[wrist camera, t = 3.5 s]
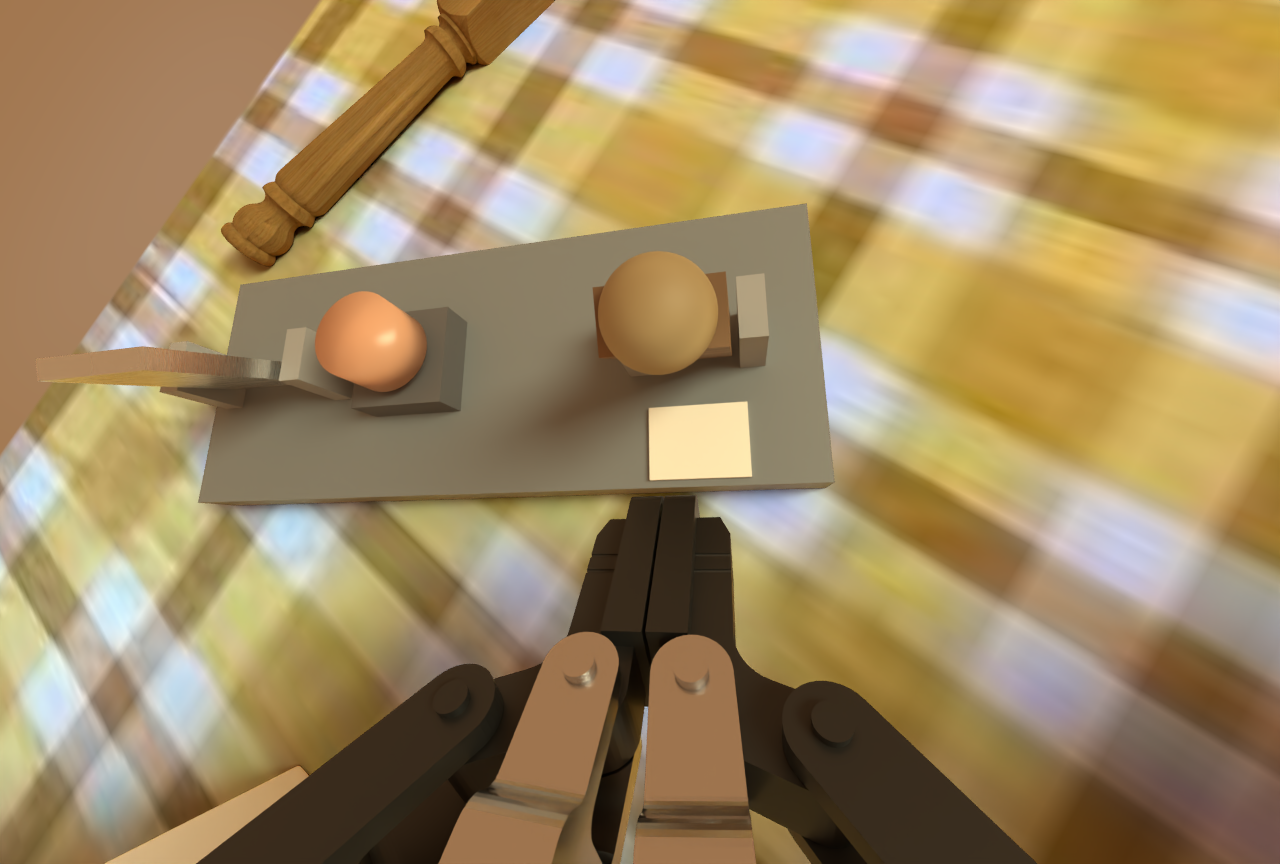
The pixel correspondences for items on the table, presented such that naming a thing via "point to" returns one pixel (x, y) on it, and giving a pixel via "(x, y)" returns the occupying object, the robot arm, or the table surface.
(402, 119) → the turned wooden table leg
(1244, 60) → the table surface
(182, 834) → the milk
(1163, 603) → the table surface
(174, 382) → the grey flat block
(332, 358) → the terracotta button
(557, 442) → the control panel
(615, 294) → the walnut lever
